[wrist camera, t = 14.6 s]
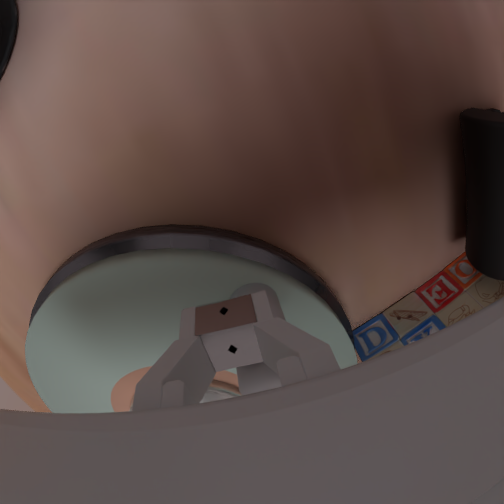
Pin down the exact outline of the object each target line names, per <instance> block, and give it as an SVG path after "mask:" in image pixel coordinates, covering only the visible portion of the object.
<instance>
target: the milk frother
mask: <svg viewBox="0 0 504 504" xmlns="http://www.w3.org/2000/svg"><path fill="white" fill-rule="evenodd" d="M16 28H17V9H16V4H15V1H14V0H0V78H1V76H2V73H3V70H4V69H5V67H6V64H7V61H8V59H9V55H10V53H11V49H12V46H13V42H14V38H15V33H16Z"/></svg>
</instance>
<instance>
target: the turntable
mask: <svg viewBox="0 0 504 504" xmlns="http://www.w3.org/2000/svg"><path fill="white" fill-rule="evenodd" d="M264 289H265V290H266V293H267V296H268V299H269V302H270V306H271V309H272V312H273V315H274V318H276V317H279V318H281V319H283V320H285V321H286V322H288V323H290V324H292V325H294V326H296V327H297V328H299V329H301V330H303V331H305V332H307V333H308V334H310V335H312V336H314V337H316V338H318V339H320V340H322V341H323V342H325V343H327V344H329V345H330V348H331V350H332V352H333V354H334V356H335V358H336V360H337V363H338V365H339V367H340V369H344V368H347V367H350V366H353V365H356V364H357V357H356V353H355V350H354V346H353V344H352V342H351V340H350V338H349V336H348V334H347V332H346V331H345V329H344V327H343V325H342V323H341V322H340V320H339V318H338V316H337V315H336V313H335V312H334V311H333V310H332V309H331V307H330V306H329V305H328V304H327V303H326V301H325V300H323V299H322V298H321V297H320V296H319V295H318V294H316V293H315V292H314V291H313V290H312V289H310V288H309V287H308V286H306V285H305V284H303V283H301V282H300V281H298V280H296V279H295V278H293V277H291V276H290V275H288V274H286V273H284V272H281V271H279V270H277V269H274V268H272V267H270V266H268V265H265V264H263V263H260V262H256V261H253V260H249V259H246V258H243V257H239V256H236V255H232V254H226V253H220V252H214V251H208V250H201V249H180V248H163V249H149V250H138V251H133V252H128V253H124V254H119V255H114V256H110V257H107V258H105V259H102V260H99V261H97V262H94V263H91V264H89V265H87V266H85V267H83V268H81V269H80V270H78V271H76V272H74V273H73V274H71V275H69V276H68V277H67V278H65V279H64V280H63V281H62V282H61V283H60V284H59V285H57V286H56V287H55V288H54V289H53V290H52V292H51V293H50V294H49V295H48V297H47V298H46V299H45V301H44V302H43V304H42V305H41V307H40V308H39V310H38V311H37V313H36V315H35V316H34V318H33V320H32V322H31V325H30V327H29V330H28V332H27V338H26V344H25V355H26V363H27V368H28V372H29V375H30V378H31V380H32V382H33V385H34V387H35V389H36V390H37V392H38V394H39V396H40V397H41V399H42V400H43V401H44V403H45V404H46V405H47V407H48V408H49V409H50V410H51V411H52V412H53V413H107V412H125V411H129V410H130V404H131V400H132V397H133V396H134V394H135V388H136V384H137V383H138V382H139V381H140V380H141V379H142V377H143V376H144V375H145V374H146V373H147V372H148V371H149V369H150V368H151V367H152V366H153V365H154V364H155V363H156V361H157V360H158V359H159V358H160V357H161V356H162V355H163V353H164V352H165V351H166V350H167V349H168V348H169V347H170V345H171V344H172V343H173V342H174V341H175V340H179V331H180V320H181V311H182V310H183V309H185V308H189V307H194V306H199V305H203V304H208V303H213V302H218V301H222V300H228V299H232V298H236V297H240V296H244V295H248V294H251V293H254V292H257V291H261V290H264ZM251 296H252V295H251ZM213 379H215V380H219V381H224V382H227V383H230V384H233V385H235V386H237V387H239V391H240V393H241V394H242V395H247V394H251V393H256V392H260V391H265V390H269V389H273V388H277V387H281V381H280V377H279V375H277V374H276V373H275V372H274V371H273V370H272V369H270V368H269V367H268V366H267V365H266V364H265V363H264V362H260V363H256V364H251V365H246V366H241V367H236V368H232V369H228V370H223V371H219V372H216V374H215V376H214V378H213Z"/></svg>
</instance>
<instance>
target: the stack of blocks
mask: <svg viewBox="0 0 504 504" xmlns="http://www.w3.org/2000/svg"><path fill="white" fill-rule="evenodd" d="M502 297H504V281H501V280H496V279H493V278H490V277H487V276H485V275H483V274H482V273H480V272H479V271H477V270H476V269H475V268H474V267H473V266H472V265H471V263H470V262H469V261H468V258H467V256H466V252H464V253H463V254H462V255H461V256H459V257H458V258H457V259H456V260H454V261H453V262H452V263H451V264H449V265H448V266H447V267H446V268H444V269H443V271H441V272H440V273H438V274H437V275H436V276H434V277H433V278H432V279H430V280H429V281H428V282H426V283H425V284H424V285H422V286H421V287H419V288H418V289H417V290H416V291H415V292H412V293H410V294H409V295H407V296H406V297H405V298H403V299H402V300H400V301H399V302H397V303H396V304H394V305H393V306H391V307H390V308H388V309H387V310H385V311H384V312H383V313H381V314H379V315H377V316H376V317H374V318H373V319H371V320H369V321H368V322H366V323H365V324H363V325H362V326H360V327H359V328H357V329H355V330H354V331H352V333H353V336H354V345H355V349H356V351H357V353H358V355H359V357H360V359H361V360H362V362H364V361H367V360H370V359H372V358H375V357H378V356H380V355H383V354H385V353H388V352H391V351H393V350H396V349H398V348H401V347H403V346H405V345H408V344H410V343H413V342H415V341H417V340H420V339H422V338H424V337H426V336H429V335H431V334H433V333H435V332H437V331H439V330H442V329H444V328H446V327H448V326H450V325H452V324H454V323H456V322H458V321H460V320H462V319H464V318H466V317H468V316H470V315H472V314H474V313H475V312H477V311H479V310H481V309H483V308H485V307H486V306H488V305H490V304H492V303H494V302H495V301H497V300H499V299H500V298H502Z"/></svg>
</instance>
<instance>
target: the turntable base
mask: <svg viewBox="0 0 504 504" xmlns="http://www.w3.org/2000/svg"><path fill="white" fill-rule="evenodd" d="M163 248H180V249H201V250H208V251H214V252H220V253H226V254H232V255H236V256H239V257H243V258H246V259H249V260H253V261H256V262H260V263H263V264H265V265H268V266H270V267H272V268H274V269H277V270H279V271H281V272H284V273H286V274H288V275H290V276H291V277H293V278H295V279H296V280H298V281H300V282H301V283H303V284H305V285H306V286H308V287H309V288H310V289H312V290H313V291H314V292H315V293H316V294H318V295H319V296H320V297H321V298H322V299H323V300H325V301H326V303H327V304H328V305H329V306H330V307H331V309H332V310H333V311H334V312H335V313H336V315H337V316H338V318H339V320H340V322H341V323H342V325H343V327H344V329H345V331H346V332H347V334H348V336H349V338H350V340H351V342H352V344H353V346H354V350H355V345H354V336H353V333H352V329H351V325H350V322H349V320H348V318H347V316H346V315H345V313H344V311H343V309H342V307H341V305H340V304H339V302H338V300H337V299H336V297H335V295H334V294H333V293H332V291H331V290H330V289H329V287H328V286H327V285H326V284H325V282H324V281H323V280H322V279H321V278H320V277H319V276H318V275H317V274H316V273H315V272H313V271H312V270H311V269H310V268H309V267H308V266H307V265H306V264H304V263H303V262H301V261H300V260H298V259H296V258H295V257H293V256H292V255H290V254H289V253H287V252H286V251H284V250H282V249H279V248H277V247H275V246H273V245H271V244H269V243H266V242H264V241H262V240H260V239H257V238H253V237H250V236H247V235H244V234H240V233H237V232H234V231H229V230H223V229H218V228H212V227H206V226H194V225H161V226H150V227H141V228H137V229H132V230H128V231H124V232H120V233H116V234H113V235H110V236H108V237H105V238H103V239H101V240H98V241H96V242H93V243H91V244H90V245H88V246H86V247H85V248H83V249H82V250H80V251H78V252H77V253H75V254H74V255H72V256H71V257H70V258H69V259H68V260H67V261H66V262H65V263H64V264H62V265H61V266H60V267H59V268H58V270H57V271H56V272H55V273H54V275H53V276H52V278H51V279H50V280H49V282H48V283H47V284H46V286H45V287H44V289H43V290H42V291H41V293H40V294H39V296H38V298H37V300H36V303H35V305H34V307H33V310H32V314H31V319H30V324H29V327H30V325H31V322H32V320H33V318H34V316H35V315H36V313H37V311H38V310H39V308H40V307H41V305H42V304H43V302H44V301H45V299H46V298H47V297H48V295H49V294H50V293H51V292H52V290H53V289H54V288H55V287H56V286H57V285H59V284H60V283H61V282H62V281H63V280H64V279H65V278H67V277H68V276H69V275H71V274H73V273H74V272H76V271H78V270H80V269H81V268H83V267H85V266H87V265H89V264H91V263H94V262H97V261H99V260H102V259H105V258H107V257H110V256H114V255H119V254H124V253H128V252H133V251H138V250H149V249H163Z"/></svg>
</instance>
